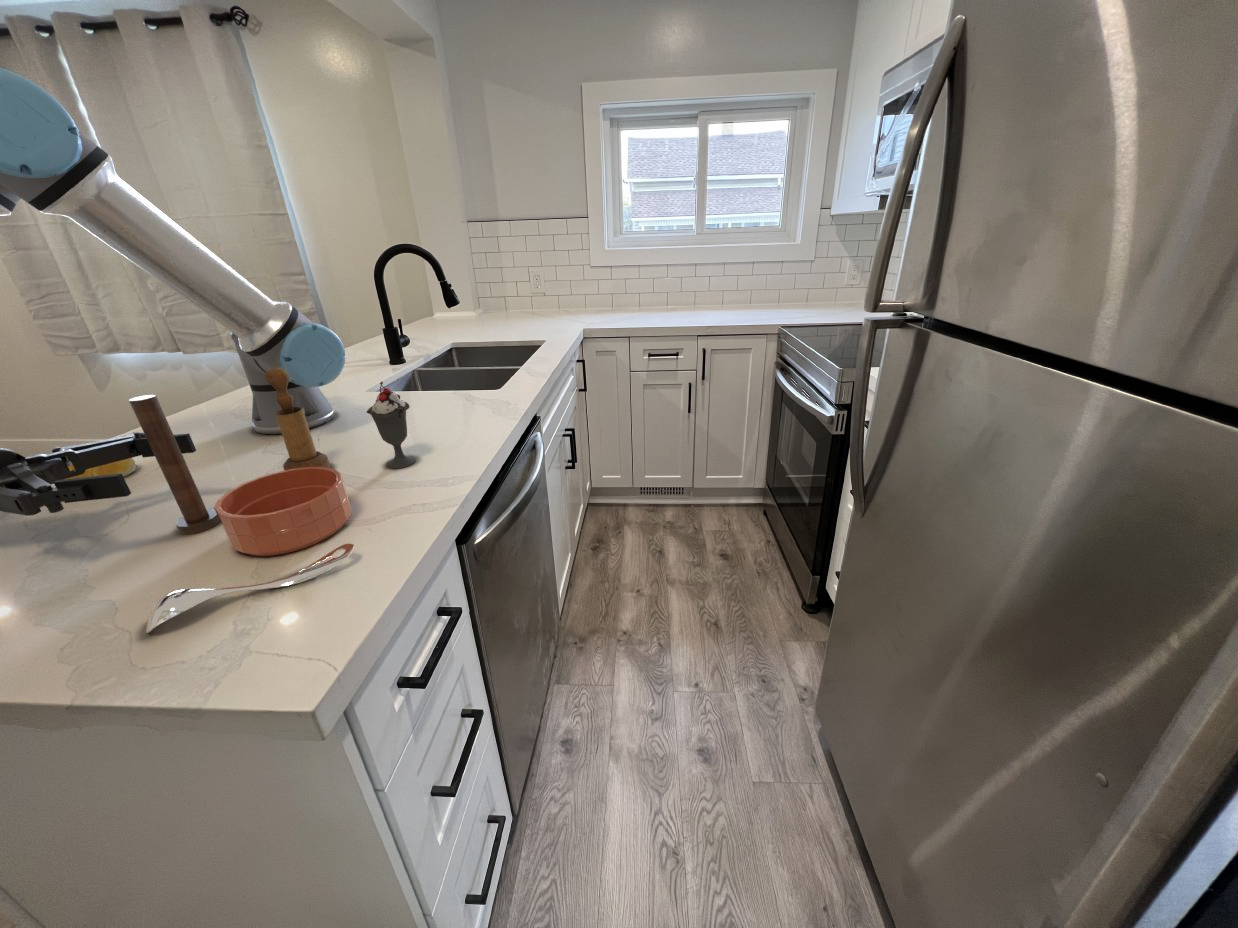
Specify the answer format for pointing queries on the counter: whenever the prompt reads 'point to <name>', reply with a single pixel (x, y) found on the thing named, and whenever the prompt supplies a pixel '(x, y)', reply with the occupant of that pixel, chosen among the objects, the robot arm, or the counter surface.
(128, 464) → the bread roll
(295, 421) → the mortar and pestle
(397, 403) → the sundae
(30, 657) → the counter surface
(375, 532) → the counter surface
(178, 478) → the stick
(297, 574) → the metal spatula
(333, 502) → the bowl
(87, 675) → the counter surface
